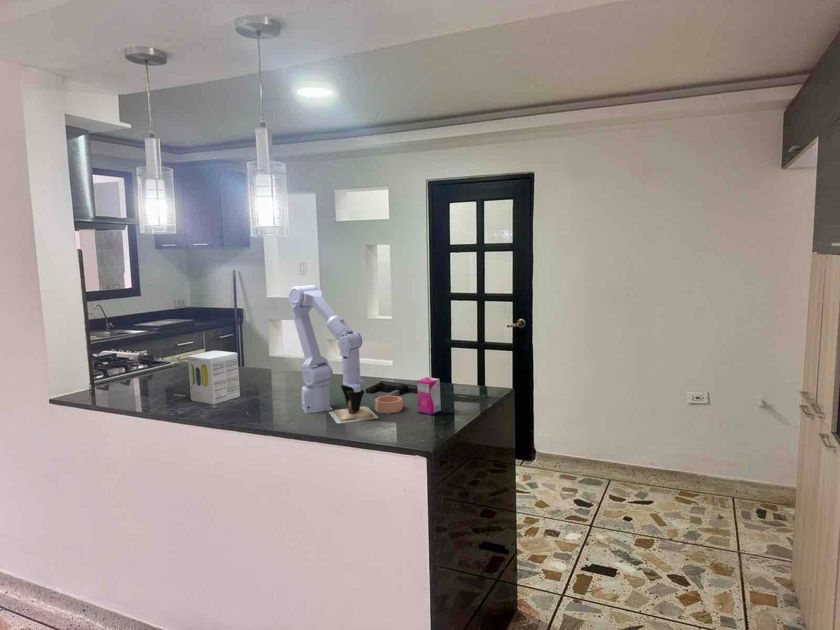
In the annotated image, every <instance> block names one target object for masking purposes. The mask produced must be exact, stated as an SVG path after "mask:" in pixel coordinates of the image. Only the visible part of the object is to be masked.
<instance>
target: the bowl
mask: <svg viewBox="0 0 840 630" xmlns="http://www.w3.org/2000/svg"><path fill="white" fill-rule="evenodd" d="M403 406H404V405H403V398H402V397H401V396H399V395H398V396H390V395H389V396H385V395H381V396H378V397H376V398H375V399H374V409H375V411H376V412H377V413H382V414H393V413H395V414H396V413H399V412H400V411H402V410H403Z"/></svg>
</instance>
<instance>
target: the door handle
mask: <svg viewBox="0 0 840 630" xmlns="http://www.w3.org/2000/svg"><path fill="white" fill-rule="evenodd" d="M365 392H366V394H374V393H376V392H380V393H387V394H385V395H384V396H389V395H390V396H399V395H400V396H402V395H404V394H406V393H413V394H417V384H416V385H415V384H409V383H400V382H395V381H386V380H380V381H379V382H378V383H376V384H374V385H371V386H369V387H367V388H366V389H365Z"/></svg>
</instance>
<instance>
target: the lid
mask: <svg viewBox="0 0 840 630" xmlns="http://www.w3.org/2000/svg"><path fill="white" fill-rule="evenodd" d="M366 407H367V406H364V405H363V406H360V409H359V411H355V412H353V411H352V407H351V401H350V400H349V401H348V406H347V408H340V409H334V410H333V411H334V414H335V415H336V416H337V417H338V419H339V420H340V421H341V422H342V421H349V420H356V419H364V418H371V417H373V414H372V413H371V412H370V411H369V410H368V409H367V408H366Z"/></svg>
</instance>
